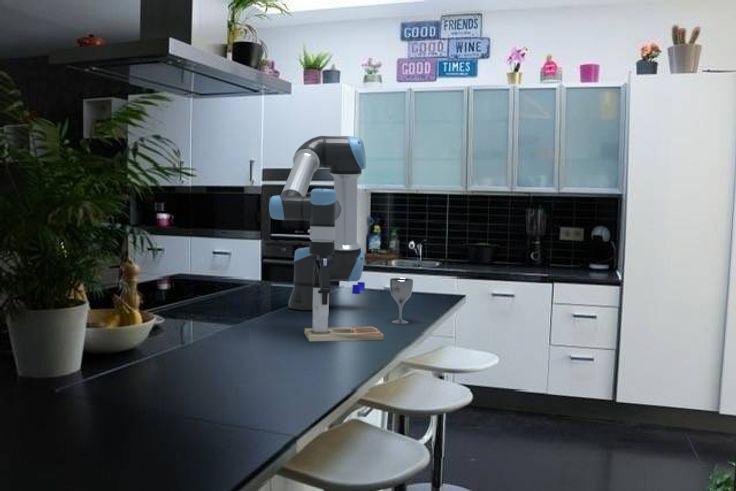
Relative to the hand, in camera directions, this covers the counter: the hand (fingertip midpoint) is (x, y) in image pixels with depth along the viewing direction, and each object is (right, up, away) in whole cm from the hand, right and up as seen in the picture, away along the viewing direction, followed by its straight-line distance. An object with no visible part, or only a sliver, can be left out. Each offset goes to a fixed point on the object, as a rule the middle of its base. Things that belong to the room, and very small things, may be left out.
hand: (320, 312), depth 186 cm
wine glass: (+25, -7, +29) cm, 39 cm away
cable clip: (+9, -3, +92) cm, 92 cm away
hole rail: (+7, -8, +2) cm, 10 cm away
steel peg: (0, -8, +1) cm, 8 cm away
